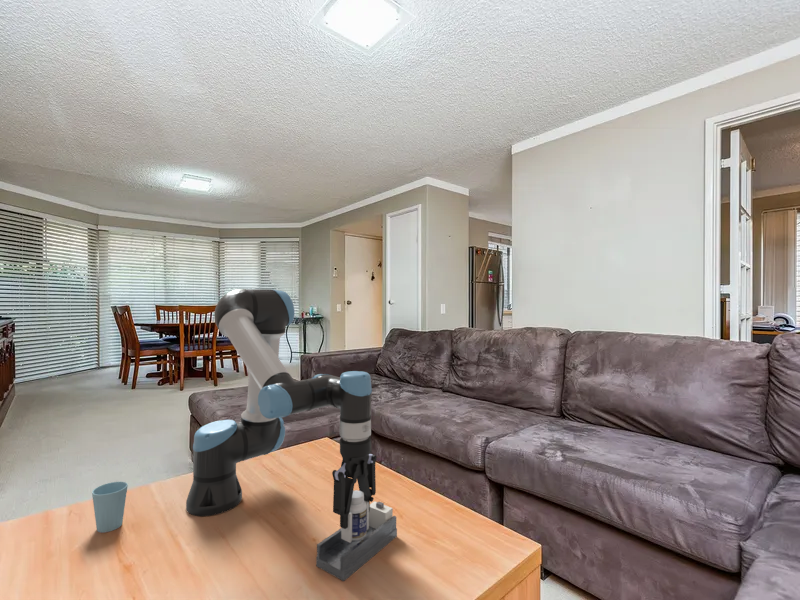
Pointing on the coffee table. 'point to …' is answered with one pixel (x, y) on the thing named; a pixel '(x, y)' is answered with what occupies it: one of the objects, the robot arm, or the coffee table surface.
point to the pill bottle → (358, 515)
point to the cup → (109, 505)
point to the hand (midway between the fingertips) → (355, 533)
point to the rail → (353, 550)
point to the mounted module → (379, 514)
